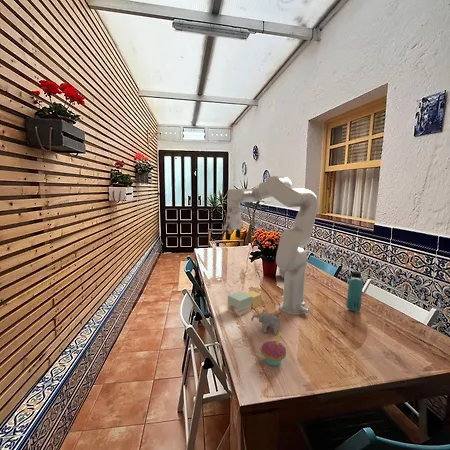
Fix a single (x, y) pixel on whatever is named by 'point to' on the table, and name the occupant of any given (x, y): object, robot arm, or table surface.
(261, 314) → the gray elephant figurine
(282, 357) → the cupcake
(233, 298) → the pale green square block
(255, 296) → the block
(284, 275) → the icon cube
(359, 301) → the beverage bottle
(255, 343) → the table surface
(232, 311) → the tower base
